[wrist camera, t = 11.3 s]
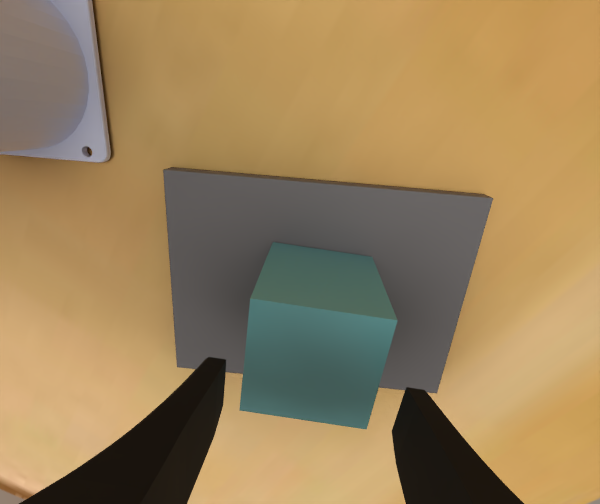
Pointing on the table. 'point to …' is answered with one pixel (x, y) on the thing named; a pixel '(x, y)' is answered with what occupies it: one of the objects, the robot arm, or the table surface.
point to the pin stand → (321, 235)
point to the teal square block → (316, 336)
